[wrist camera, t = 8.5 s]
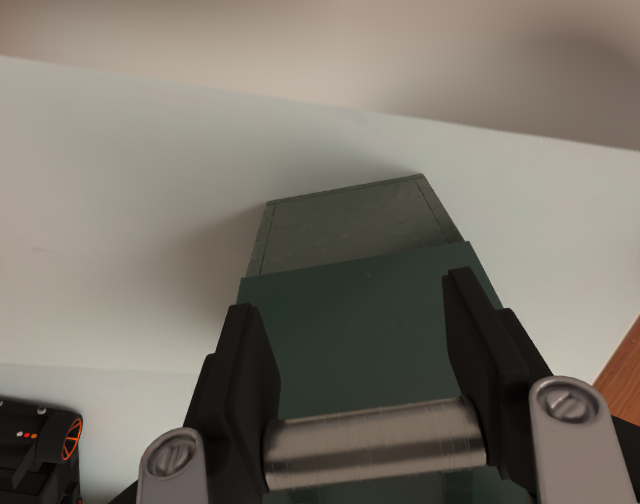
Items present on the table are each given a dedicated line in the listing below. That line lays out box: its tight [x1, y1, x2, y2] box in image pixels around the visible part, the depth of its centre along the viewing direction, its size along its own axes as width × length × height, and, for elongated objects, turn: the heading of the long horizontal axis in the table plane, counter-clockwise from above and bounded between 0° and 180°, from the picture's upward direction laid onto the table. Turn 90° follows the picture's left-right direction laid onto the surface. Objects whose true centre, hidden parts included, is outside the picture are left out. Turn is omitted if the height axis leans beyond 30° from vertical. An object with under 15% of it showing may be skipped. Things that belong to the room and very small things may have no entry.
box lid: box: [236, 241, 526, 504], centre depth 15 cm, size 14×12×5 cm
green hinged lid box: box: [246, 174, 465, 277], centre depth 31 cm, size 14×12×11 cm
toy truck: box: [0, 400, 83, 504], centre depth 44 cm, size 10×20×7 cm, turn 167°
